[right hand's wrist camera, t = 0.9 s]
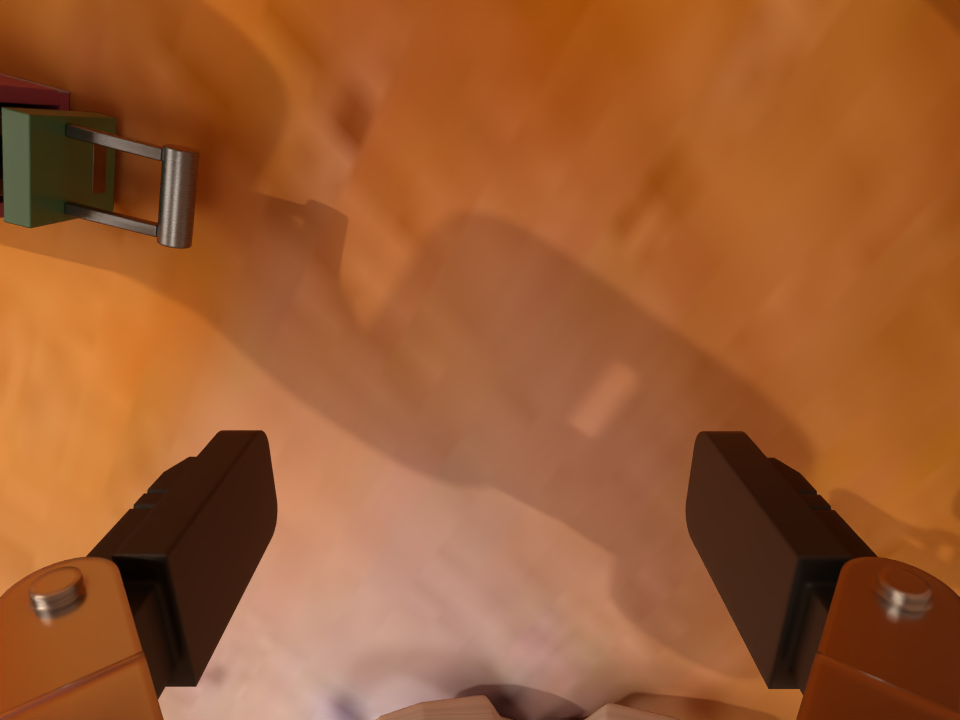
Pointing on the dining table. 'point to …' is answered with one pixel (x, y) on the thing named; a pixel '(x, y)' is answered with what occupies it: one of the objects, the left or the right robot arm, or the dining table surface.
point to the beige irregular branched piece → (478, 716)
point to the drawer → (87, 173)
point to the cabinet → (30, 99)
